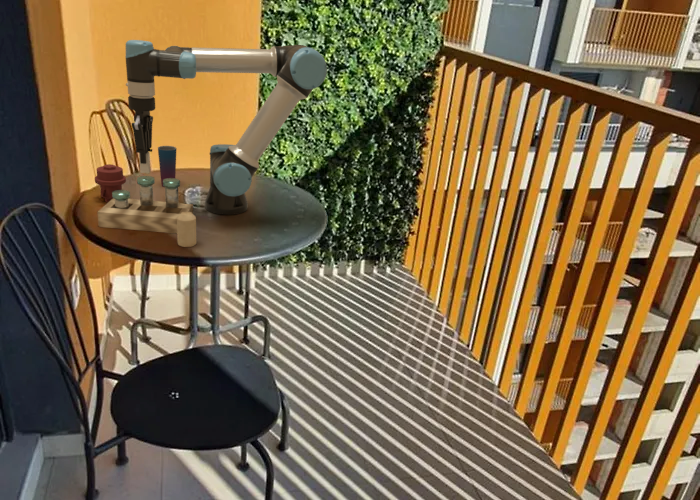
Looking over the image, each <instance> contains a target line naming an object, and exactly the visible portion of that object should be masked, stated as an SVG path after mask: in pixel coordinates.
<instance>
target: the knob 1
mask: <svg viewBox="0 0 700 500" xmlns="http://www.w3.org/2000/svg"><path fill="white" fill-rule="evenodd" d="M112 197H113V198H114V199H115V208H118V209H128V208H129V204H128V199H131V192H130V191H129V190H125V189H122V190H116V191H113V192H112Z"/></svg>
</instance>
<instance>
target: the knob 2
mask: <svg viewBox="0 0 700 500" xmlns="http://www.w3.org/2000/svg"><path fill="white" fill-rule="evenodd" d="M163 186H164V187H163ZM163 186H162V187H163V188H164V195H165V196H164V198H165V201H164V202H166V207H168V208H176V207H178V206H179V203H180V202H179V200H180V199H179V188H180V186H181V181H180V179H178V178H176V177H175V178H167V179H164V180H163Z"/></svg>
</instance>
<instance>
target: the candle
mask: <svg viewBox="0 0 700 500" xmlns="http://www.w3.org/2000/svg"><path fill="white" fill-rule="evenodd" d="M176 234H177V235H176V236H177V245H178V246H180V247H183V248H190V247H194V246H196V244H197V216H196V215H194V213H193V214H192V213H191V212H182V213H181V214H180V215H179V216H178V217H177V233H176Z"/></svg>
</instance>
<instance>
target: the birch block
mask: <svg viewBox="0 0 700 500" xmlns="http://www.w3.org/2000/svg"><path fill="white" fill-rule="evenodd" d="M153 202H154V204H153V205H150V206H143V205H141V204H140V199H136V198H128V204H129V208H128V209H118V208H115V199H114V198H113V199H112V200H111V201H109V202H106V204H105V205H104V206H102V207H101V208H100V209H98V211H97V224H98V227H99V228H107V229H108V228H109V229H121V230H132V231H133V230H135V231H142V232H143V231H144V232H145V231H146V232H158V233H167V234H177V217H178V216H179V215H180V214H181V213H182V212H191V213H192V214H193V215H194V204H193V203H192V204H191V203H181V202H179V206H178V207H176V208H168V207H166V201H161V200H160V201H159V200H153Z"/></svg>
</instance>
